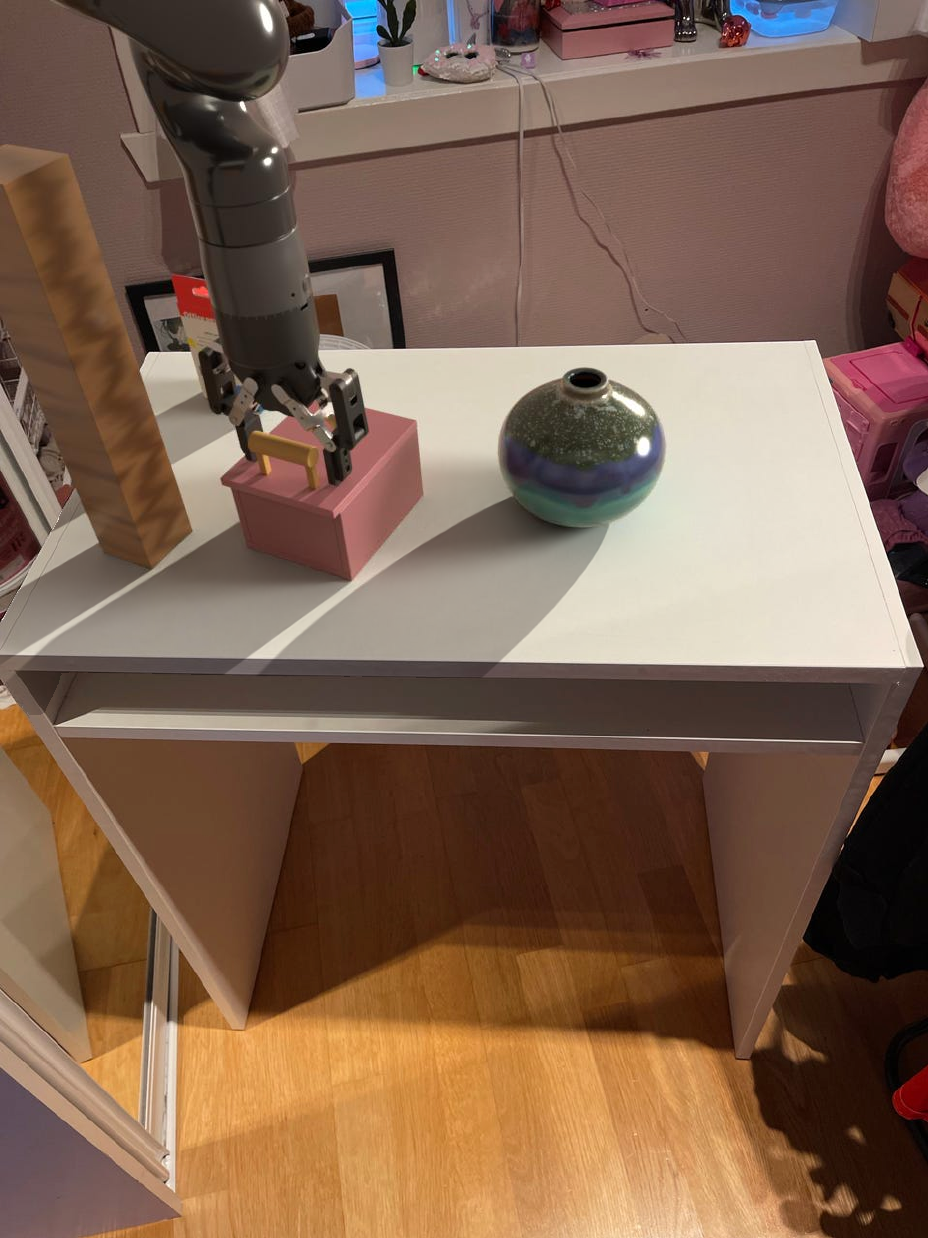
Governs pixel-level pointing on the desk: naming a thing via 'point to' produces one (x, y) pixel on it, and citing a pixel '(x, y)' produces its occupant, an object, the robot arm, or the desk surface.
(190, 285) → the ink box
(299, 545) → the chest
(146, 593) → the desk surface
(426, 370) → the desk surface
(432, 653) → the desk surface
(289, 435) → the lid
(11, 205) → the pedestal
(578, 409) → the vase
